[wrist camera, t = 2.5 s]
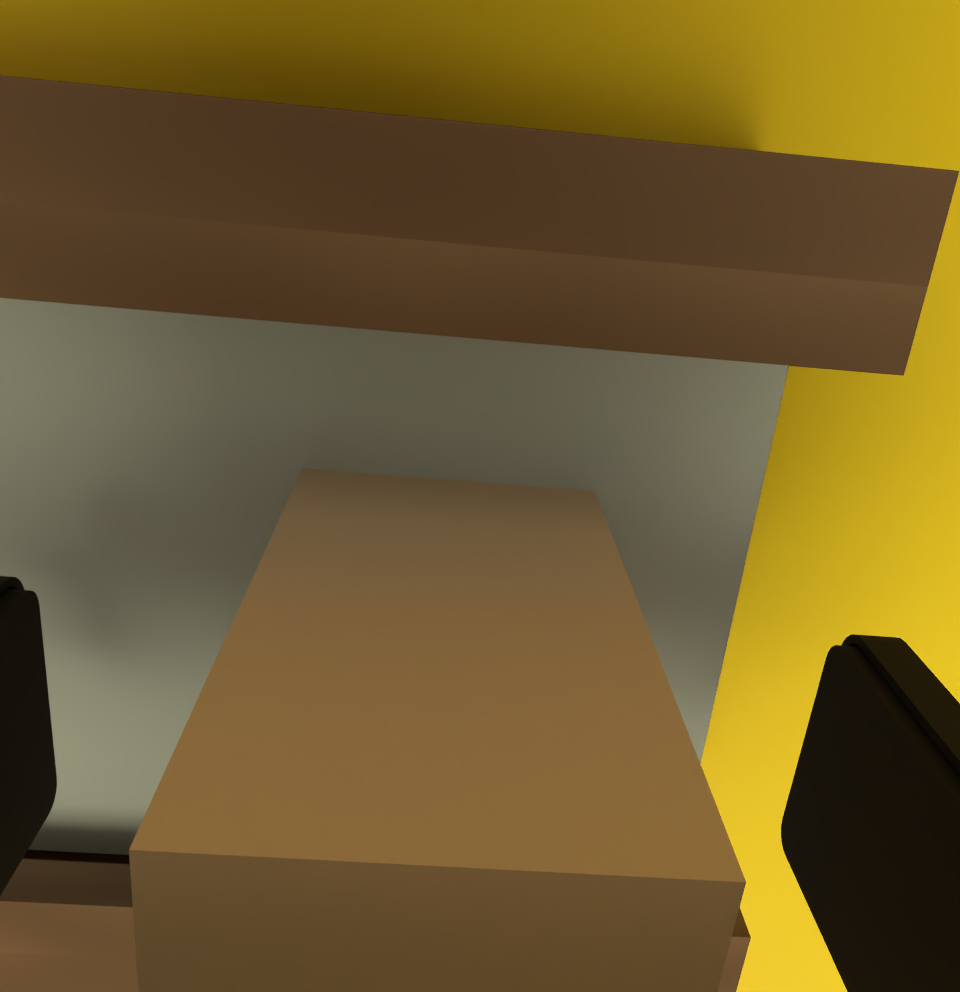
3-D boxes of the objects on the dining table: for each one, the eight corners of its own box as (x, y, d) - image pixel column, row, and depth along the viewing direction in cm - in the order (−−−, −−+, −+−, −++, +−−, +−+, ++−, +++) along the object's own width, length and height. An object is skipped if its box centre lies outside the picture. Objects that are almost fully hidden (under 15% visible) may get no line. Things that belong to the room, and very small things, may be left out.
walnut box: (-203, 59, 15) (-673, 9, 9) (762, 154, 16) (959, 171, 9) (-90, 724, 20) (-339, 996, 13) (642, 768, 20) (722, 1041, 14)
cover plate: (-253, 187, 12) (-1486, 285, 4) (779, 280, 12) (1255, 503, 5) (-131, 796, 15) (-684, 1423, 8) (661, 839, 16) (836, 1447, 9)
